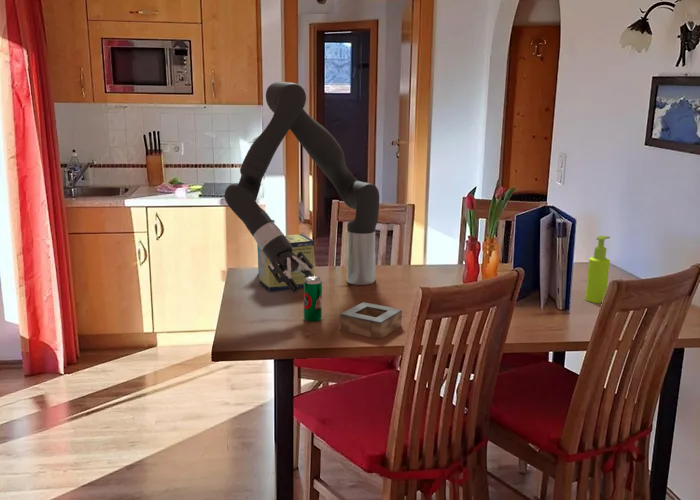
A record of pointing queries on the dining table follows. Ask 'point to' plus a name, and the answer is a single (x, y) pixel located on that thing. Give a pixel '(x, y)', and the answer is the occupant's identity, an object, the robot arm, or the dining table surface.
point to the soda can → (312, 299)
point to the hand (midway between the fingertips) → (306, 287)
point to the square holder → (371, 320)
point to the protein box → (271, 284)
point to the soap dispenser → (597, 273)
